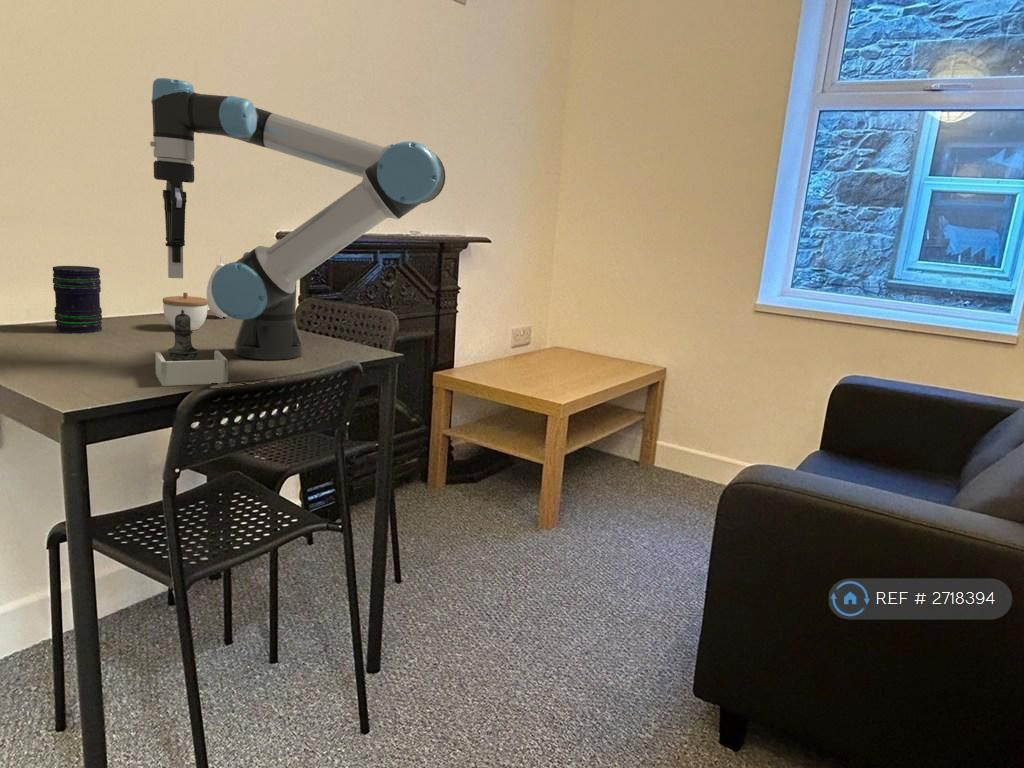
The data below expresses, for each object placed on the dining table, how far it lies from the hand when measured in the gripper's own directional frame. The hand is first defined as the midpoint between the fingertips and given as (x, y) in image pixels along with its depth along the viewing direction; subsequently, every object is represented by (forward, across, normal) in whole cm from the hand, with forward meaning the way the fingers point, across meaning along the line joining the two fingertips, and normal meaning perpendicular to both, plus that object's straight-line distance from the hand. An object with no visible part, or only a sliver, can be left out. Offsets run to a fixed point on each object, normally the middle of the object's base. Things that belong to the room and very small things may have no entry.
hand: (175, 277), depth 152 cm
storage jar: (+18, -35, -17) cm, 43 cm away
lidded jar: (+18, -36, +7) cm, 41 cm away
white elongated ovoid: (+18, -53, +19) cm, 59 cm away
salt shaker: (+18, +8, 0) cm, 19 cm away
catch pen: (+17, +18, 0) cm, 25 cm away
